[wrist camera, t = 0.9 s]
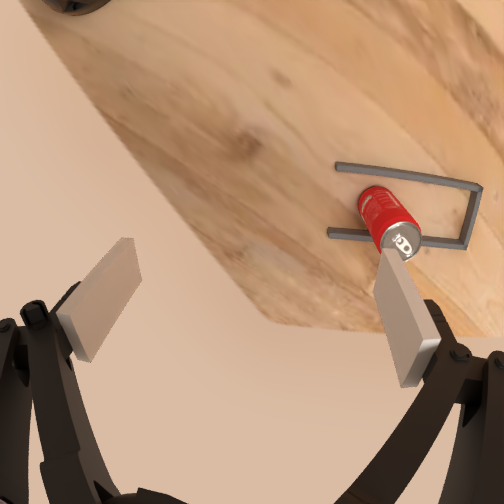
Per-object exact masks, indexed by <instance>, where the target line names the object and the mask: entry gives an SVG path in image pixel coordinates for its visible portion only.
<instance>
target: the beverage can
mask: <svg viewBox="0 0 504 504" xmlns="http://www.w3.org/2000/svg"><path fill="white" fill-rule="evenodd" d="M358 208H359V212H360V215H361V217H362V219H363V220H364V222H365V224H366V226H367V228H368V230H369V232H370V234H371V237H372V239H373V241H374V243H375V245H376V247H377V249H378V251H379V253H380V254H381V253H382V248H389V249H396V250H397V252H398V253H399V255H400V257H401V259H402V261H403V262H405V261H408V260H410V259H411V258H413V257H414V256H415V255H416V254H417V252H418V251H419V249H420V247H421V244H422V234H421V229H420V227H419V225H418V223H417V222H416V221H415V220H414V218H413V217H412V216H411V215H410V214H409V212H408V211H407V210H406V209H405V208H404V207H403V205H402V204H401V203H400V202H399V201H398V200H397V198H396V197H395V196H394V195H393V194H392V193H391V192H390V191H389V190H388V189H386V188H384V187H379V186H377V187H371V188H369V189H367V190H366V191H365V192H364V193H363V194H362V196H361V197H360V200H359V204H358Z"/></svg>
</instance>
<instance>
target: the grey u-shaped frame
mask: <svg viewBox="0 0 504 504" xmlns="http://www.w3.org/2000/svg"><path fill="white" fill-rule="evenodd" d="M335 168H336V170H337V171H341V172H351V173H360V174H368V175H377V176H384V177H392V178H399V179H406V180H413V181H420V182H426V183H432V184H438V185H444V186H450V187H455V188H461V189H466V190H471V196H470V200H469V204H468V208H467V212H466V216H465V220H464V224H463V227H462V231H461V234H460V238H459V240H457V239H448V238H439V237H429V236H422V244H421V246H426V247H437V248H448V249H458V250H467V247H468V243H469V240H470V237H471V233H472V230H473V226H474V223H475V219H476V216H477V212H478V208H479V204H480V200H481V196H482V191H483V187H482V186H481V185H479V184H477V183H473V182H468V181H463V180H458V179H453V178H448V177H442V176H437V175H431V174H425V173H419V172H413V171H406V170H400V169H393V168H385V167H378V166H370V165H362V164H353V163H344V162H336V163H335ZM327 233H328V237H329V238H331V239H344V240H356V241H369V242H374V241H373V239H372V237H371V234H370V232H369V231H367V230H355V229H343V228H331V227H328V232H327Z"/></svg>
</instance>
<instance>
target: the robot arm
mask: <svg viewBox="0 0 504 504" xmlns="http://www.w3.org/2000/svg"><path fill="white" fill-rule="evenodd" d="M42 1H43V2H45V3H46V4H47V5H48V6H49V7H51V8H52V9H53V10H55V11H57V12H59V13H63V14H68V15H82V14H86V13H89V12H92V11H94V10H96V9H98V8H100V7H101V6H103V5H104V4H106V3H107V2H108V1H110V0H42ZM141 281H142V278H141V274H140V269H139V265H138V260H137V255H136V250H135V245H134V240H133V238H121V239H120V240H119V241H118V242H117V243H116V244H115V245H114V246H113V247H112V248H111V250H109V252H108V253H107V254H106V255H105V256H104V257H103V258H102V259H101V260H100V262H99V263H98V264H97V265H96V266H95V267H94V268H93V269H92V270H91V272H90V273H89V274H88V275H87V276H86V277H85V278H84V280H83V281H82V282H80V281H79V282H77V283H76V284H74V285H73V286H71V287H70V289H69V290H68V291H67V292H66V294H65V295H64V296H63V297H62V298H61V300H59V302H58V303H57V304H56V305H55V306H54V307H53V309H52V310H51V311H50V312H48V310H47V308H46V305H45V303H44V302H43V301H41V300H35V301H31V302H29V303H27V304H26V305H24V306H23V308H22V309H21V310H20V315H21V317H22V319H23V321H24V324H25V326H17V325H16V322H15V320H14V319H12V318H6V319H3V320H1V321H0V504H28V503H29V502H28V501H29V498H28V497H29V489H28V488H29V487H28V456H29V452H28V451H29V433H30V420H31V409H32V399H33V403H34V409H35V416H36V421H37V426H38V432H39V437H40V442H41V446H42V451H43V454H44V462H41V463H40V472H41V476H42V479H43V483H44V487H45V490H46V494H47V497H48V500H49V503H50V504H187V503H185V502H183V501H181V500H178V499H176V498H174V497H172V496H170V495H167V494H163V493H159V492H155V491H151V490H147V489H143V488H138V491H137V493H131V494H123V495H121V494H120V492H119V491H118V489H117V488H116V486H115V485H114V483H113V482H112V480H111V478H110V475H109V473H108V470H107V468H106V466H105V463H104V461H103V458H102V456H101V453H100V450H99V448H98V445H97V443H96V440H95V437H94V434H93V431H92V429H91V426H90V423H89V420H88V417H87V414H86V410H85V407H84V404H83V401H82V397H81V394H80V390H79V387H78V383H77V379H76V376H75V372H74V368H73V364H72V361H71V359H70V357H69V356H70V354H71V353H72V351H74V353H75V355H76V357H77V359H78V360H82V361H86V362H90V363H91V362H92V360H93V358H94V356H95V355H96V353H97V351H98V350H99V348H100V346H101V345H102V343H103V341H104V339H105V338H106V336H107V335H108V333H109V331H110V330H111V328H112V327H113V325H114V323H115V322H116V320H117V318H118V317H119V315H120V314H121V312H122V311H123V309H124V307H125V306H126V304H127V302H128V301H129V299H130V298H131V296H132V295H133V293H134V292H135V290H136V289H137V287H138V286H139V284H140V283H141ZM373 294H374V297H375V300H376V303H377V307H378V310H379V313H380V316H381V319H382V322H383V326H384V329H385V332H386V336H387V339H388V342H389V346H390V350H391V353H392V357H393V360H394V364H395V368H396V371H397V375H398V379H399V383H400V387H401V388H407V387H417V386H418V384H419V382H420V380H421V379H422V378H423V381H424V385H423V387H422V389H421V390H420V392H419V394H418V395H417V397H416V398H415V400H414V402H413V403H412V405H411V406H410V408H409V409H408V411H407V412H406V414H405V415H404V417H403V419H402V420H401V422H400V423H399V424H398V426H397V427H396V429H395V430H394V431H393V433H392V434H391V436H390V437H389V438H388V440H387V441H386V442H385V444H384V445H383V447H382V448H381V449H380V451H379V452H378V453H377V454H376V456H375V457H374V458H373V459H372V461H371V462H370V463H369V465H368V466H367V467H366V468H365V469H364V471H363V472H362V473H361V474H360V475H359V477H358V478H357V479H356V480H355V481H354V482H353V484H352V485H351V486H350V487H349V488H348V489H347V490H346V491H345V492H344V493H343V494H342V495H341V497H340V498H339V499H338V500H337V501H336V502H335V503H334V504H394V503H395V502H396V501H397V499H398V498H399V496H400V495H401V493H402V492H403V491H404V489H405V488H406V486H407V485H408V483H409V482H410V480H411V479H412V477H413V476H414V474H415V473H416V471H417V470H418V468H419V466H420V465H421V463H422V462H423V460H424V458H425V457H426V455H427V453H428V452H429V450H430V448H431V447H432V445H433V443H434V441H435V439H436V438H437V436H438V434H439V432H440V430H441V428H442V426H443V425H444V422H445V421H446V419H447V417H448V415H449V413H450V411H451V408H452V407H453V404H454V403H459V404H461V410H460V417H459V422H458V428H457V433H456V438H455V443H454V448H453V452H452V456H451V461H450V465H449V468H448V472H447V476H446V480H445V484H444V487H443V490H442V494H441V497H440V500H439V503H438V504H504V352H502V351H493V352H492V353H491V354H490V355H489V357H488V358H487V359H484V358H480V357H475V356H472V353H471V351H470V350H469V349H468V348H467V347H466V346H464V345H463V344H460V343H457V341H456V339H455V337H454V335H453V333H452V331H451V329H450V327H449V325H448V323H447V322H446V319H445V317H444V316H443V313H442V311H441V309H440V307H439V306H438V305H437V304H436V303H435V302H434V301H433V300H423V299H422V297H421V295H420V293H419V291H418V289H417V287H416V285H415V283H414V281H413V279H412V277H411V275H410V274H409V272H408V270H407V268H406V266H405V264H404V262H403V261H402V259H401V257H400V255H399V253H398V252H397V250H396V249H389V248H382V253H381V258H380V263H379V267H378V272H377V276H376V281H375V285H374V290H373Z"/></svg>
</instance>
